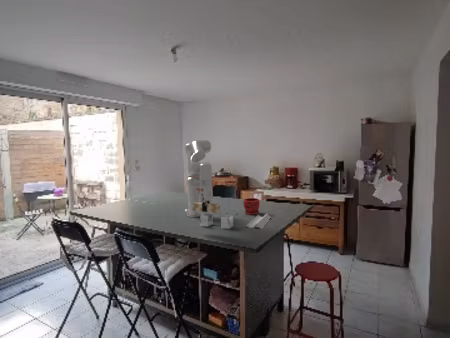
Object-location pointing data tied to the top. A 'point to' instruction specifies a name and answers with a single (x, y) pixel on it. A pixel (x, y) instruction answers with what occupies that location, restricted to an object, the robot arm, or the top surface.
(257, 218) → the crown molding
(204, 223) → the cup brackets
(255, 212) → the plant pot
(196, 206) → the beige wooden bar
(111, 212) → the top surface
